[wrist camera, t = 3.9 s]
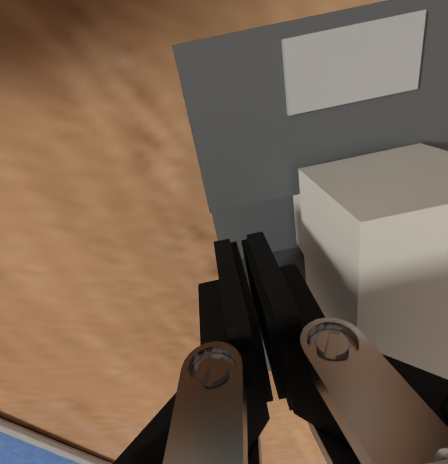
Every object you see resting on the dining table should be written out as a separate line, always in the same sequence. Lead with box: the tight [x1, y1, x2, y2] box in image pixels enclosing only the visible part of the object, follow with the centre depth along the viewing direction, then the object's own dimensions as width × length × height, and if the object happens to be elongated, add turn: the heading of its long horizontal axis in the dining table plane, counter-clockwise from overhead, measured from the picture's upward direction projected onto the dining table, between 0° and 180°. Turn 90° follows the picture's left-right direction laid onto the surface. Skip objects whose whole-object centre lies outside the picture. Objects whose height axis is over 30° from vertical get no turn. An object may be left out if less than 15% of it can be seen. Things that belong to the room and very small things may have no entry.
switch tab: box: [293, 143, 448, 379], centre depth 11 cm, size 6×4×7 cm, turn 10°
